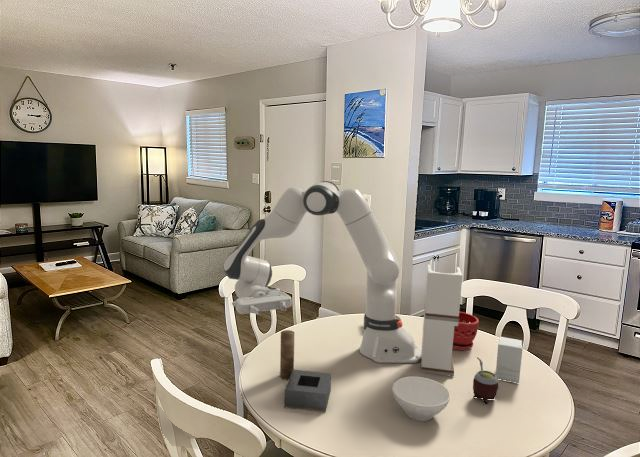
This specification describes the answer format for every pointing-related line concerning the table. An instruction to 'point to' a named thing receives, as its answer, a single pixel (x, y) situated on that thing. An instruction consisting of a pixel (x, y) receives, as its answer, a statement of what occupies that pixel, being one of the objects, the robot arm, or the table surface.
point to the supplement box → (509, 359)
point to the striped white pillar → (440, 321)
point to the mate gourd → (485, 384)
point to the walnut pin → (287, 354)
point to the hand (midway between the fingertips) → (272, 310)
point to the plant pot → (465, 331)
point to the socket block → (307, 391)
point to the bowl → (420, 397)
